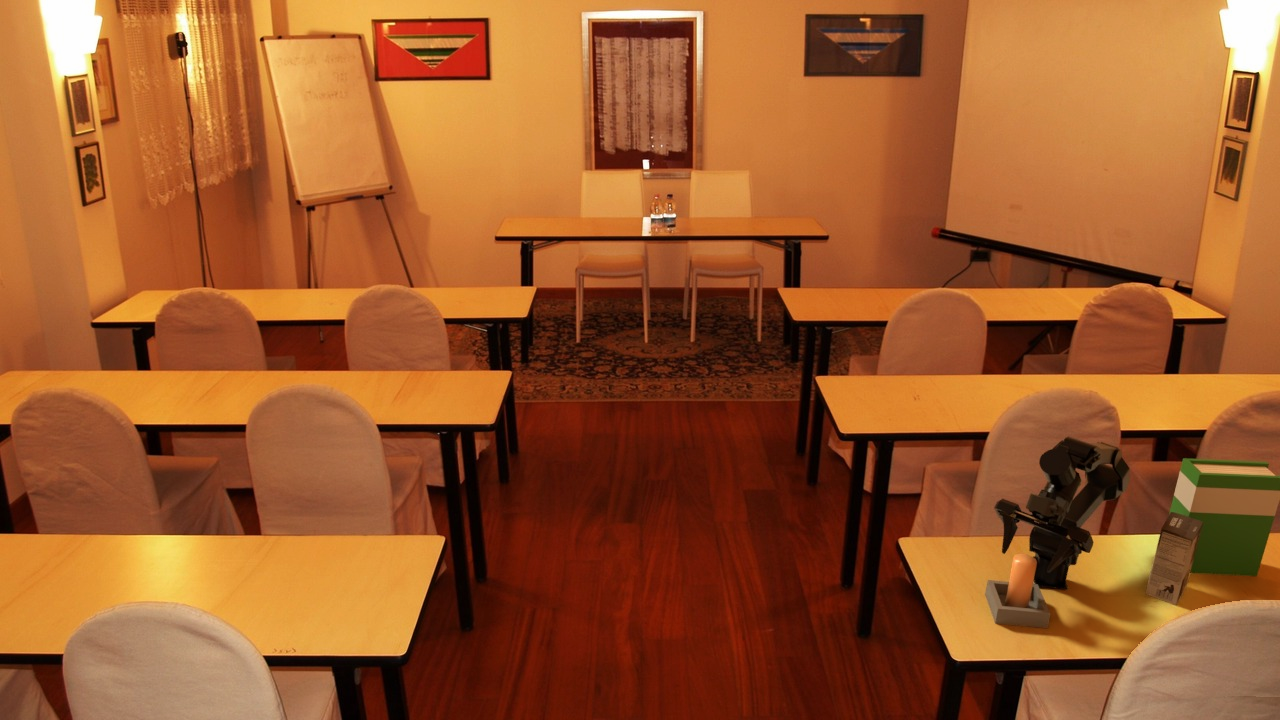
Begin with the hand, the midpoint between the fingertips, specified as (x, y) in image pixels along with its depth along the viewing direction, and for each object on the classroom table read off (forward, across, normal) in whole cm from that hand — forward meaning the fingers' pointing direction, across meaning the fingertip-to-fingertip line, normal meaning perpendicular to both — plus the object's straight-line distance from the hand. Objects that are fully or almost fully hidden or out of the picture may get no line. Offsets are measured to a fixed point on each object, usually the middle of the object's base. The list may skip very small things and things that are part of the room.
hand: (1025, 562), depth 195 cm
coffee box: (-13, +19, +29) cm, 37 cm away
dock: (+8, 0, +8) cm, 11 cm away
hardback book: (-25, +22, +42) cm, 54 cm away
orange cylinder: (+7, 0, +7) cm, 10 cm away
